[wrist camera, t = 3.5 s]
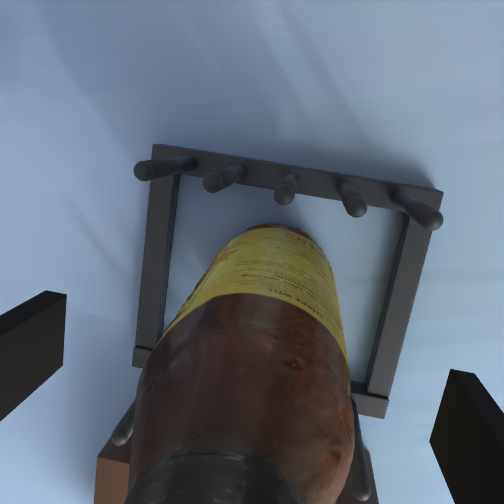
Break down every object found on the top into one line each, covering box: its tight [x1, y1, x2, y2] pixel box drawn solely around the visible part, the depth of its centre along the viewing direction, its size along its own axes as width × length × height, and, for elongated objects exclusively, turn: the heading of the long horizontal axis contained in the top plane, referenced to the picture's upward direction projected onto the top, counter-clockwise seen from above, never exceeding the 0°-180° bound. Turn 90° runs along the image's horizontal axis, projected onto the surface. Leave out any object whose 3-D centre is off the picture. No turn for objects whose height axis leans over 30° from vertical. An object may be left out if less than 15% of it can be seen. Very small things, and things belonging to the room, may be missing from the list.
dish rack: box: [111, 144, 443, 501], centre depth 20 cm, size 14×12×8 cm
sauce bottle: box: [124, 224, 355, 504], centre depth 14 cm, size 7×6×20 cm
